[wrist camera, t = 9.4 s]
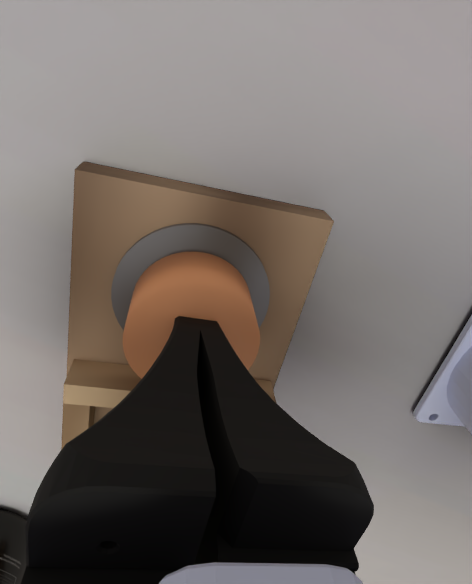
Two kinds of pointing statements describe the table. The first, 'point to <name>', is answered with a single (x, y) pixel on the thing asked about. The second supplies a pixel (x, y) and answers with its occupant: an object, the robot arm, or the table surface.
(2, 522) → the supplement bottle
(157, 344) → the button
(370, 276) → the table surface
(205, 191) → the board
